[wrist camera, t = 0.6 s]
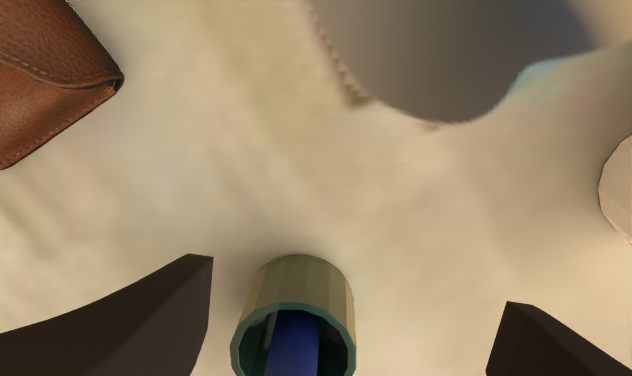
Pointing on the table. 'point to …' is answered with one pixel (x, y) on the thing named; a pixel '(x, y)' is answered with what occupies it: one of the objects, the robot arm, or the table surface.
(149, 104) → the table surface
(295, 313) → the blue marker
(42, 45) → the sunglasses case
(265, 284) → the tumbler
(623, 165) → the shot glass
